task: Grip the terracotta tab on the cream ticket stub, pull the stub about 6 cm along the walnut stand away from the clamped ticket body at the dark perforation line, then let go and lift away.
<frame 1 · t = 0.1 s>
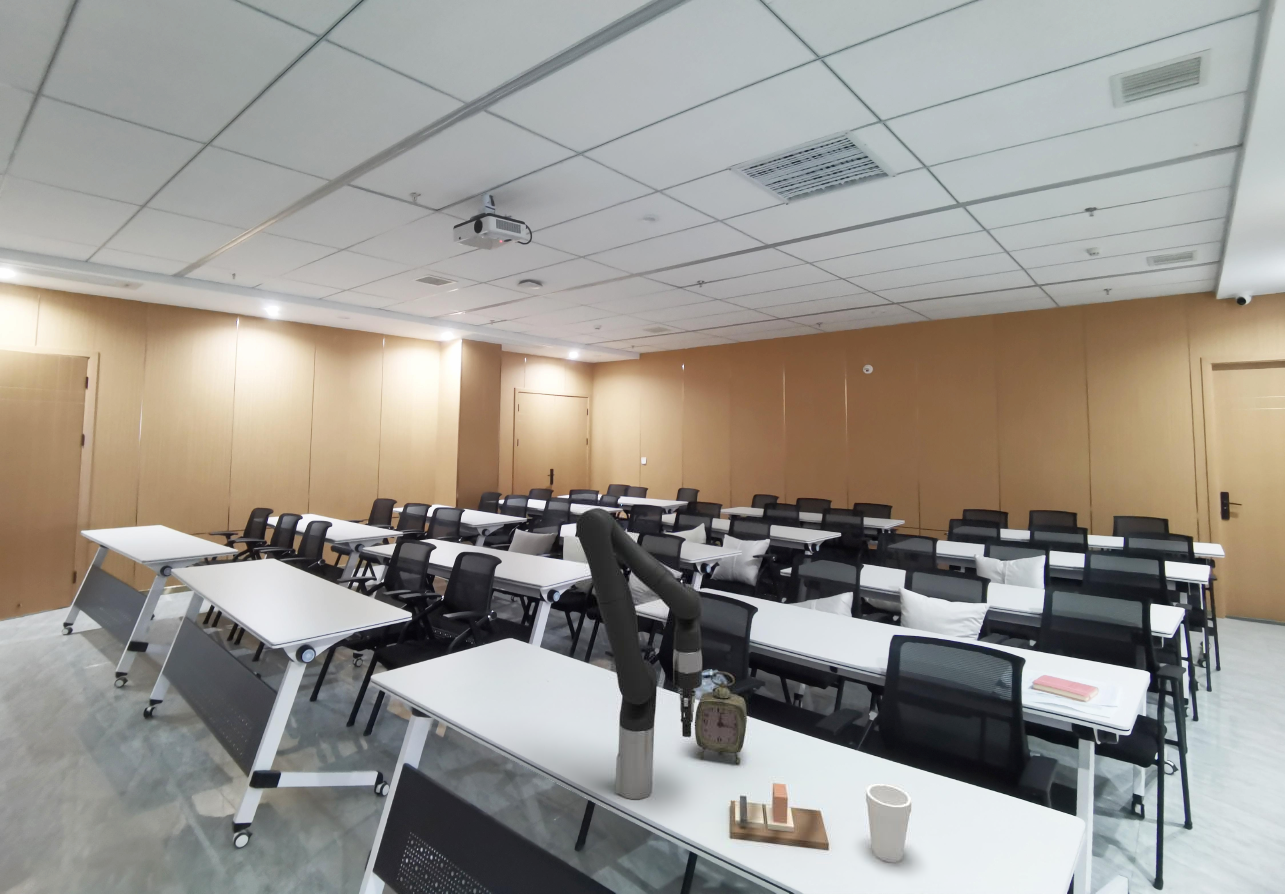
hand: (687, 728, 158), 17 cm above the table, tool pointing down, fingers open, 8 cm apart
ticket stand: (776, 826, 146), on the table
foam cup: (886, 853, 138), on the table
stub: (779, 805, 146), point 5 cm above the table, slide at 0.0 cm
tabletop clock: (720, 757, 180), on the table
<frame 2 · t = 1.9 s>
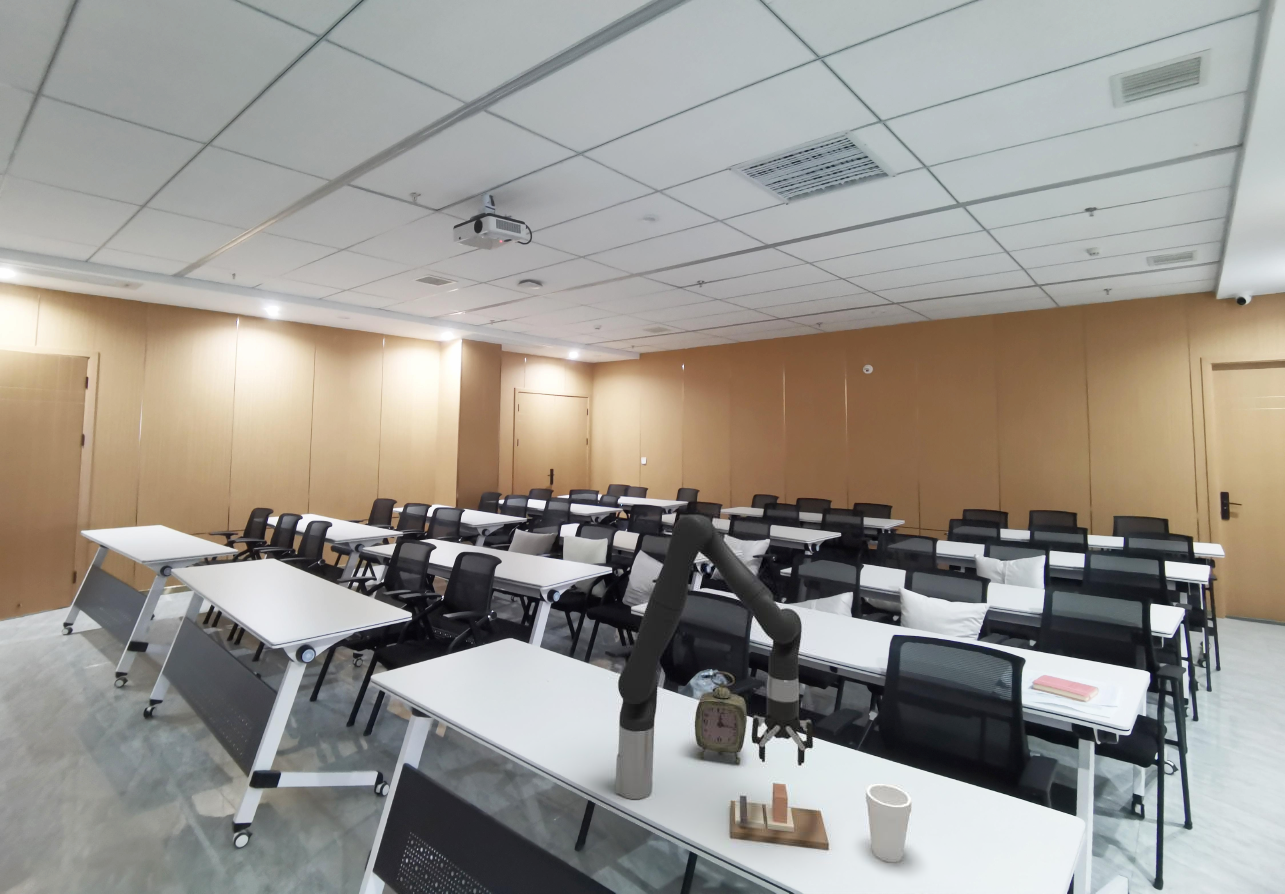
hand: (781, 762, 146), 15 cm above the table, tool pointing down, fingers open, 8 cm apart
nothing on the table moved.
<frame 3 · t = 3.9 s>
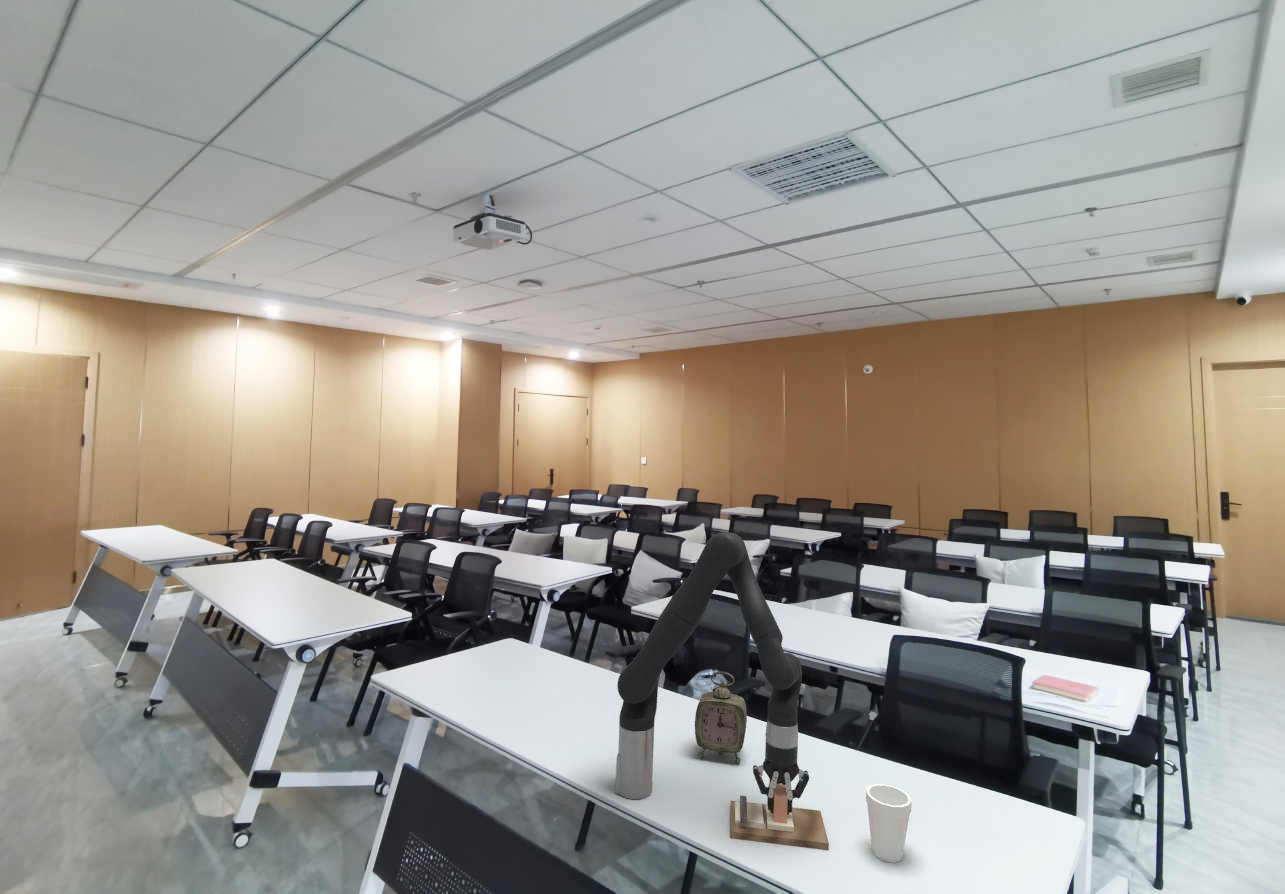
hand: (779, 811, 146), 4 cm above the table, tool pointing down, fingers closed on stub, 3 cm apart
stub: (779, 805, 146), point 5 cm above the table, slide at 0.0 cm, touching gripper
everything else where it was.
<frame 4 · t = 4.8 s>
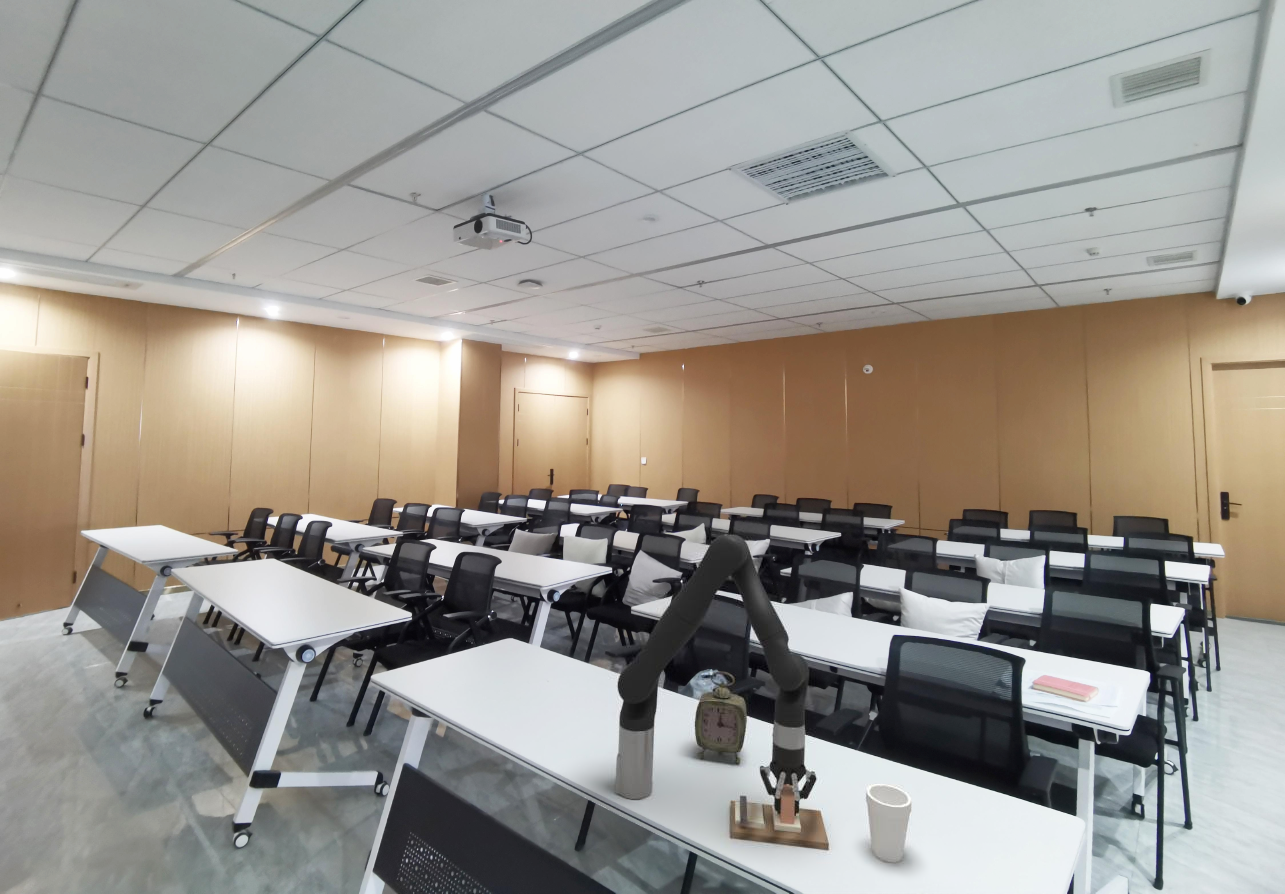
hand: (786, 812, 146), 4 cm above the table, tool pointing down, fingers closed on stub, 3 cm apart
stub: (786, 805, 146), point 5 cm above the table, slide at 1.6 cm, touching gripper
everything else where it was.
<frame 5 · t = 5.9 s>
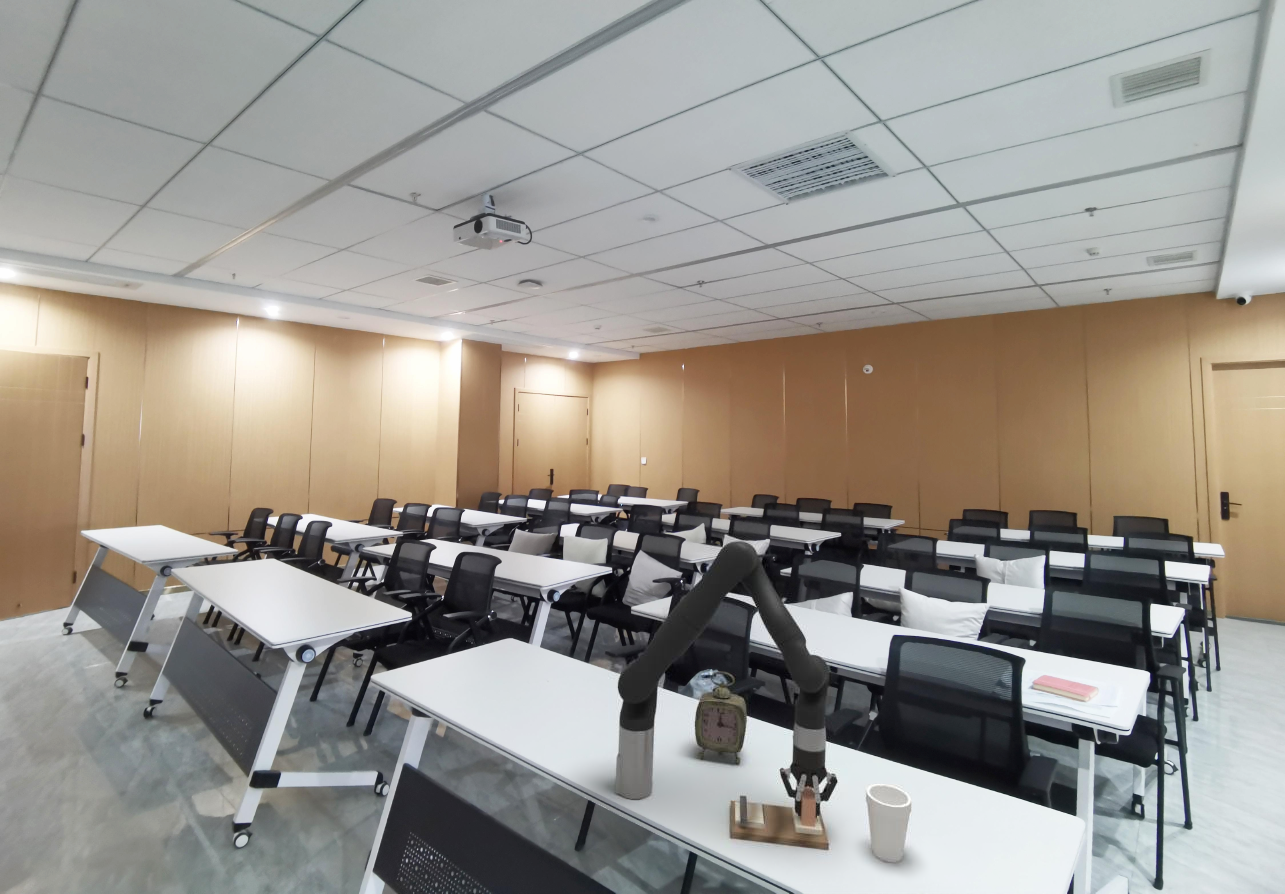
hand: (807, 814, 145), 4 cm above the table, tool pointing down, fingers closed on stub, 3 cm apart
stub: (807, 808, 145), point 5 cm above the table, slide at 6.4 cm, touching gripper
everything else where it was.
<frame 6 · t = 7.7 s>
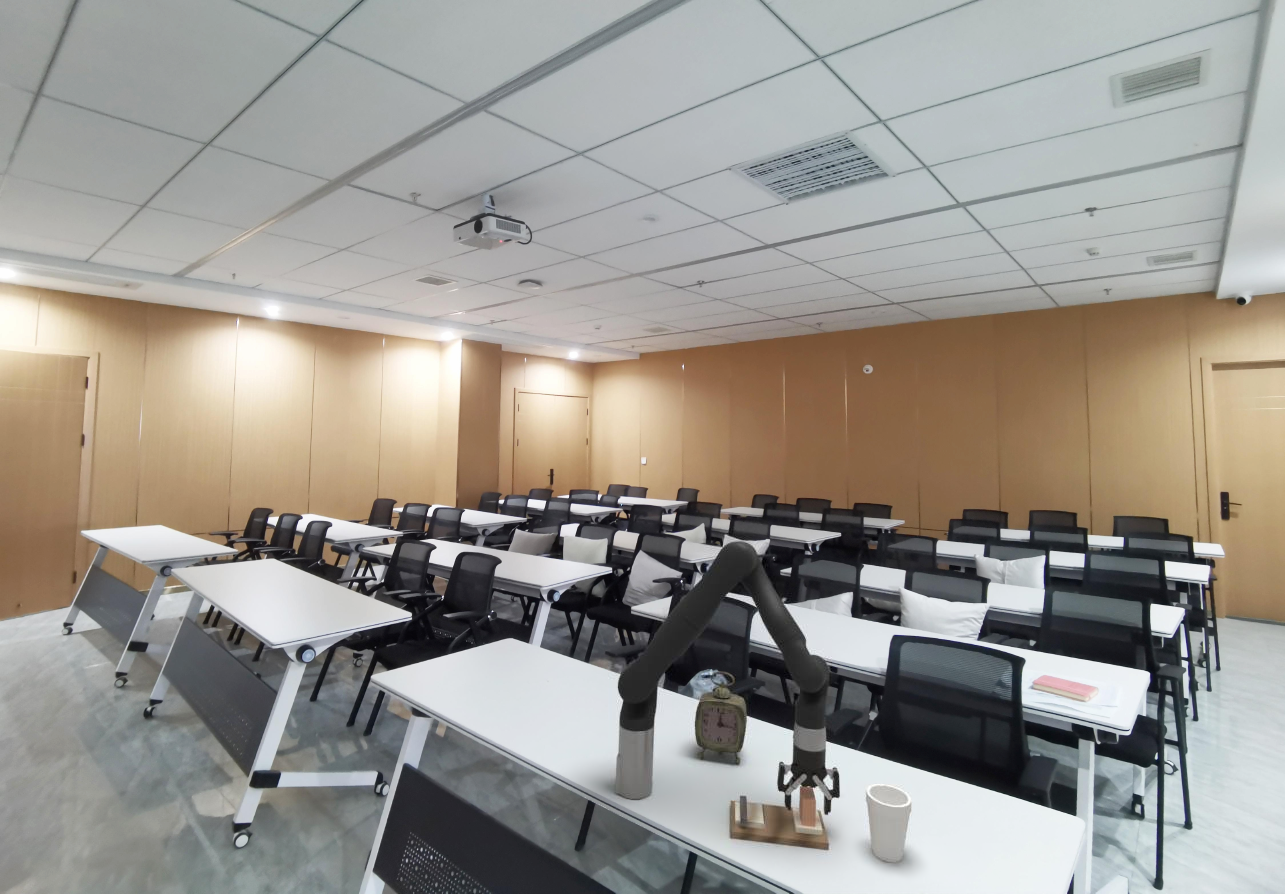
hand: (807, 810, 145), 5 cm above the table, tool pointing down, fingers open, 8 cm apart
stub: (807, 808, 145), point 5 cm above the table, slide at 6.4 cm
everything else where it was.
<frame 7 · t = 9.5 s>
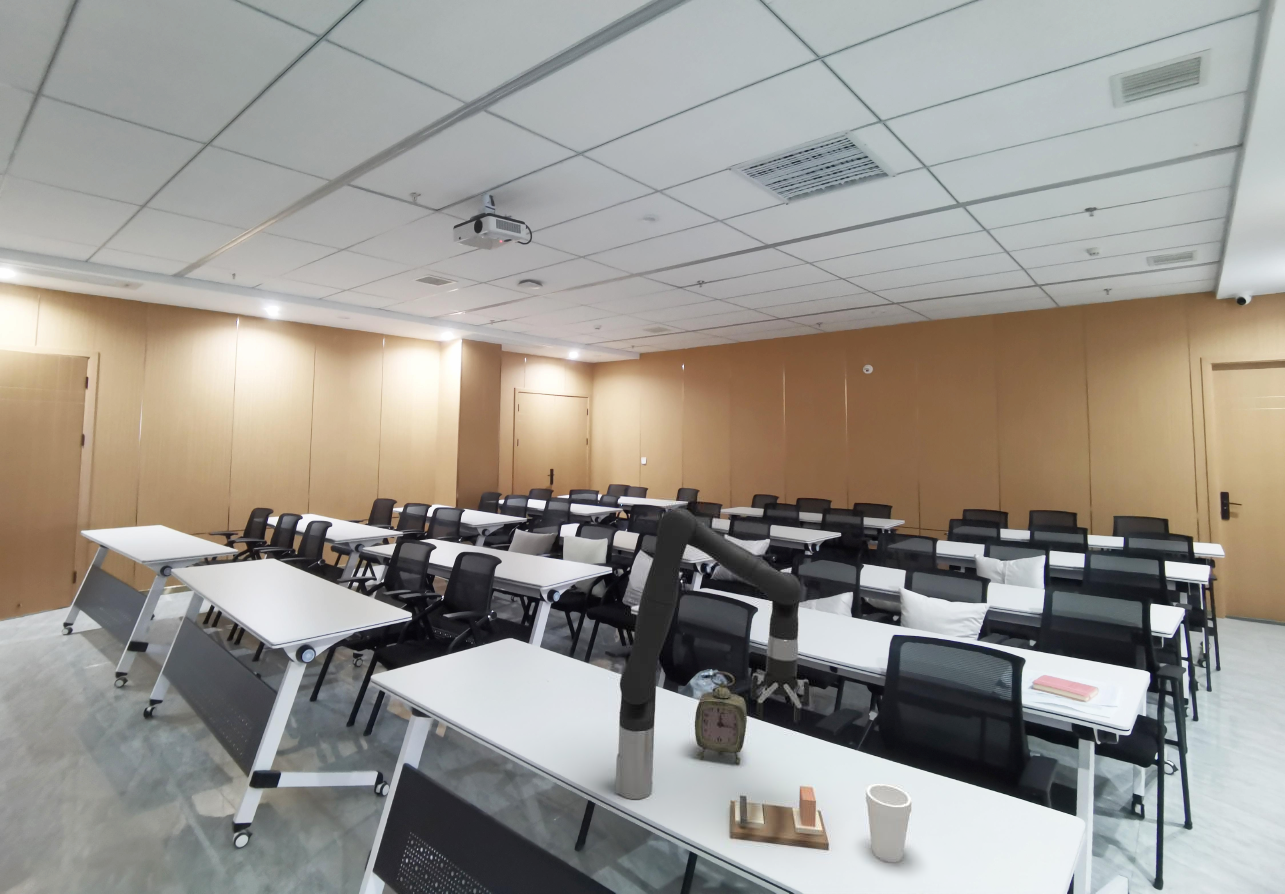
hand: (778, 718, 153), 23 cm above the table, tool pointing down, fingers open, 8 cm apart
nothing on the table moved.
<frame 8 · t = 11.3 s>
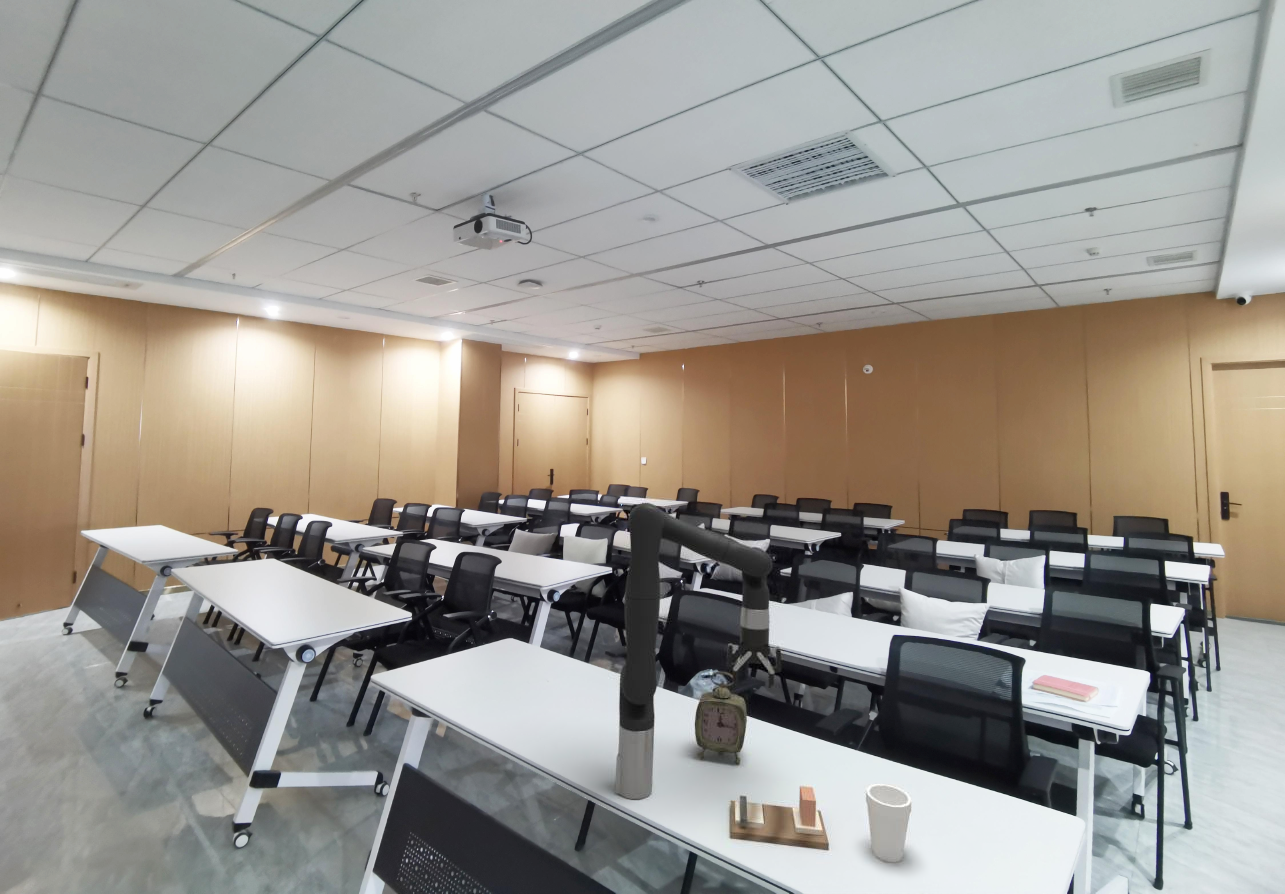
hand: (752, 685, 161), 28 cm above the table, tool pointing down, fingers open, 8 cm apart
nothing on the table moved.
at the end: stub slide at 6.4 cm; the gripper is holding nothing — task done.
